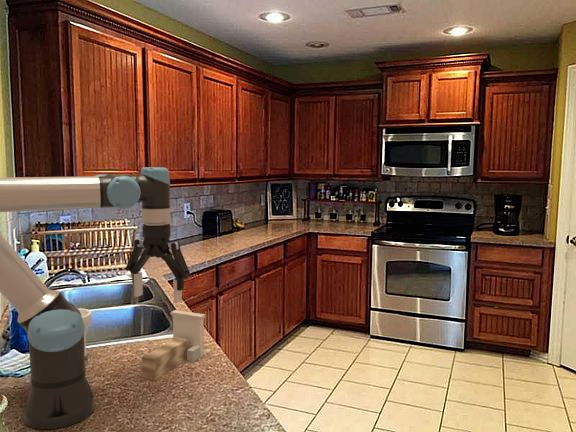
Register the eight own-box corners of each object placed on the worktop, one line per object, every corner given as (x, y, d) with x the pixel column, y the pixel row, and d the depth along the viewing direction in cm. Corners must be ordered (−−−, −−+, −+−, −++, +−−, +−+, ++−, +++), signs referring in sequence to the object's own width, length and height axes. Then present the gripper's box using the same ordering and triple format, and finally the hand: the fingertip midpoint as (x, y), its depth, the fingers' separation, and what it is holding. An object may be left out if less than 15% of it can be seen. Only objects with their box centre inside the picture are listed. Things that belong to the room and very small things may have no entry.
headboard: (194, 362, 143) (193, 320, 141) (164, 356, 147) (163, 315, 146) (205, 355, 149) (205, 314, 147) (176, 349, 153) (175, 309, 151)
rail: (154, 380, 132) (153, 359, 131) (142, 377, 133) (141, 356, 132) (188, 358, 146) (188, 339, 146) (177, 356, 148) (177, 337, 147)
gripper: (202, 224, 131) (203, 300, 133) (130, 219, 140) (131, 290, 143) (186, 227, 124) (187, 307, 126) (111, 222, 134) (113, 296, 136)
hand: (157, 298), depth 134 cm, fingers open, 13 cm apart
